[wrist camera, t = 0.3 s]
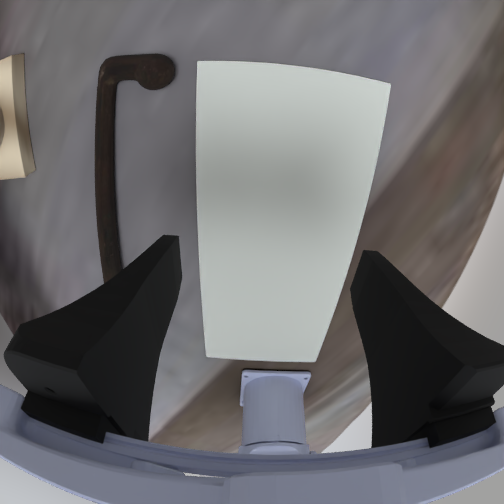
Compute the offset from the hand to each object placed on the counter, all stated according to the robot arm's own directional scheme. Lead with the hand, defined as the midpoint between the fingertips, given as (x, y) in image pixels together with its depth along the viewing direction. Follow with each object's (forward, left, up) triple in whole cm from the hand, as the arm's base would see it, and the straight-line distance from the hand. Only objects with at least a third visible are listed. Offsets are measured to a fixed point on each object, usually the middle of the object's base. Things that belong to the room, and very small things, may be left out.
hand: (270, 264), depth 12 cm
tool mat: (-7, -1, -10) cm, 12 cm away
